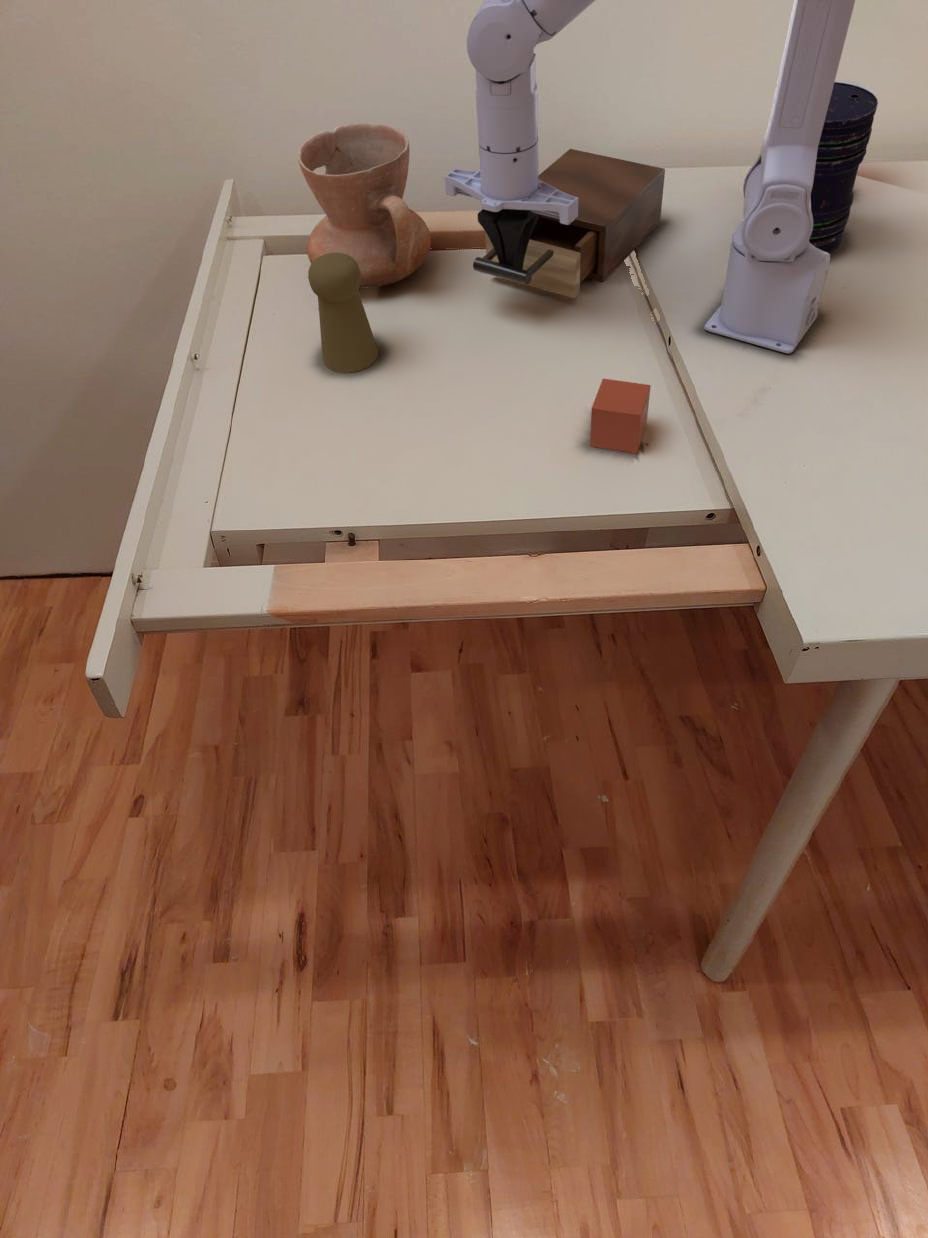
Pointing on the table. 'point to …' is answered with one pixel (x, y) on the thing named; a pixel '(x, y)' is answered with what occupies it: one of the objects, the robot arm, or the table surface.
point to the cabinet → (610, 202)
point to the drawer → (549, 258)
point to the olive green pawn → (342, 314)
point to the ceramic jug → (365, 201)
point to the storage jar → (839, 162)
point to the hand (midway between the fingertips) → (512, 271)
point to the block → (619, 415)
